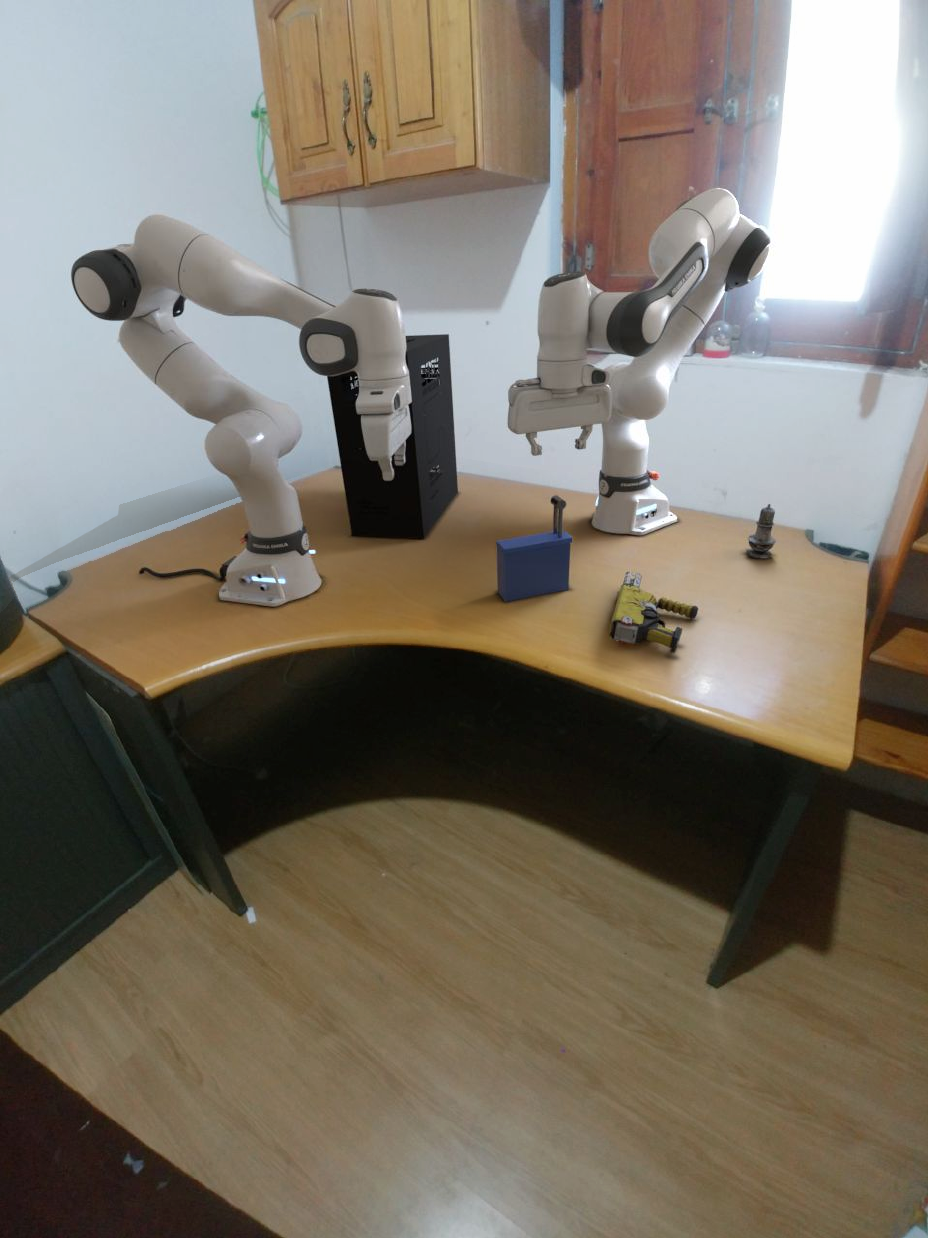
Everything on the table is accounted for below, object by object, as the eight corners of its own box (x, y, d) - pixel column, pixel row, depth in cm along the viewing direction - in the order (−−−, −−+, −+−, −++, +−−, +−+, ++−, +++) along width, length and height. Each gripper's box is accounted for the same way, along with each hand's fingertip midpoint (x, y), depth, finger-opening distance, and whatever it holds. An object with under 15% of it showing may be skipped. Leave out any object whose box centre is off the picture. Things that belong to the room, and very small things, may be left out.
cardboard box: (424, 538, 157) (407, 351, 135) (351, 535, 162) (323, 353, 139) (457, 492, 189) (448, 334, 166) (396, 490, 193) (379, 336, 171)
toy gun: (700, 582, 122) (625, 568, 126) (700, 638, 102) (611, 620, 106) (695, 602, 124) (621, 588, 128) (693, 661, 104) (606, 643, 108)
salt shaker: (775, 559, 136) (787, 508, 130) (747, 558, 137) (757, 508, 131) (769, 548, 141) (780, 499, 135) (742, 548, 142) (752, 499, 136)
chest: (559, 580, 133) (560, 535, 127) (568, 589, 129) (570, 543, 124) (497, 592, 129) (496, 546, 124) (505, 602, 125) (504, 555, 120)
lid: (562, 534, 128) (563, 492, 123) (572, 542, 124) (574, 499, 119) (496, 546, 124) (495, 503, 119) (504, 554, 120) (503, 510, 115)
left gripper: (382, 384, 115) (391, 456, 122) (352, 405, 97) (364, 489, 104) (415, 383, 114) (421, 456, 121) (390, 404, 96) (399, 488, 103)
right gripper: (515, 383, 104) (515, 462, 111) (618, 372, 110) (612, 448, 116) (501, 378, 109) (502, 454, 116) (600, 368, 115) (596, 441, 122)
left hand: (394, 471), depth 112 cm, fingers open, 8 cm apart
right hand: (558, 451), depth 116 cm, fingers open, 8 cm apart
